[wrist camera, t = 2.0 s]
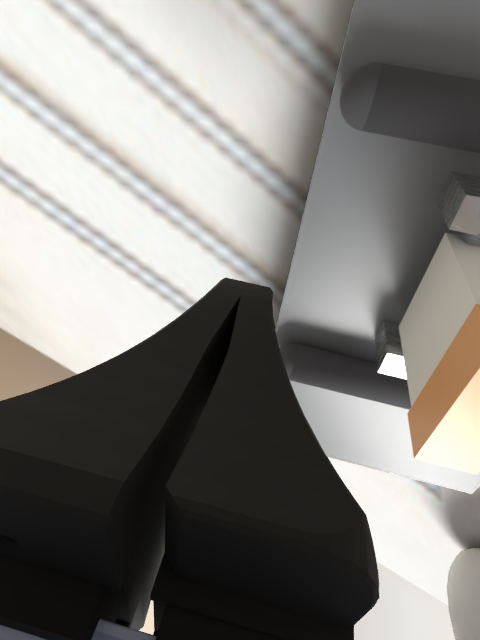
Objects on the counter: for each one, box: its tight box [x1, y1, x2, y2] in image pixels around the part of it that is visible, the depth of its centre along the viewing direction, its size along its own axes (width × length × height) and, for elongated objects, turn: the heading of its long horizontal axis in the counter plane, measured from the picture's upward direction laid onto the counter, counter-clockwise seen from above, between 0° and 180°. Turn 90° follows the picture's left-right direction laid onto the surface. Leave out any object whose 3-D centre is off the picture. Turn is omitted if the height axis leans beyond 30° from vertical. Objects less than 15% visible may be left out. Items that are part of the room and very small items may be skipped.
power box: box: [275, 0, 480, 494], centre depth 16 cm, size 12×20×5 cm, turn 173°
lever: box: [399, 230, 480, 475], centre depth 11 cm, size 2×4×6 cm, turn 173°
